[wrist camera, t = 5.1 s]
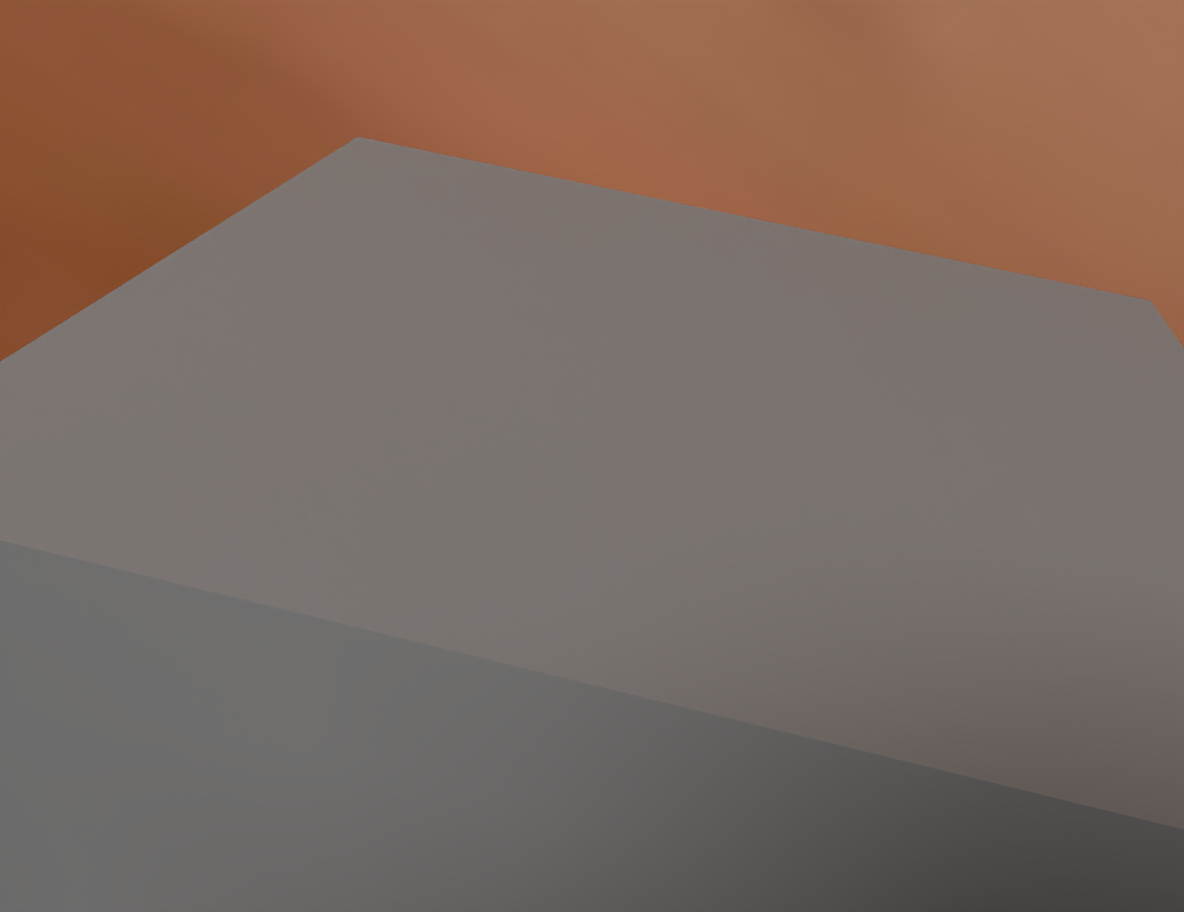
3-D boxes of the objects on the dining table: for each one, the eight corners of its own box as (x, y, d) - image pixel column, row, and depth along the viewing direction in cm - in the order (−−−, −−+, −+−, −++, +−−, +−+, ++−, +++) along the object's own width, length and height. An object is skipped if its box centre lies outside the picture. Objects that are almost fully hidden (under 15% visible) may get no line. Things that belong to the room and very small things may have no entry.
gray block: (1150, 300, 7) (1594, 932, 3) (909, 861, 10) (967, 1608, 6) (358, 137, 8) (-205, 490, 4) (329, 716, 11) (-10, 1311, 6)
